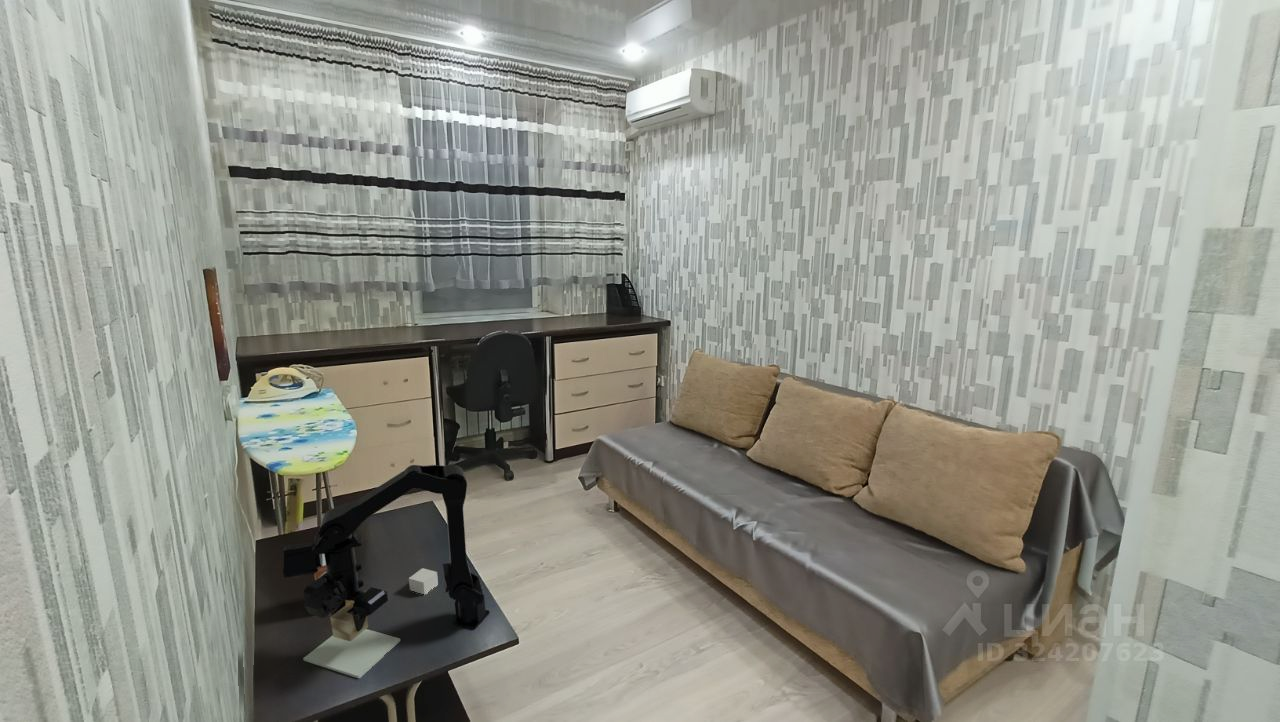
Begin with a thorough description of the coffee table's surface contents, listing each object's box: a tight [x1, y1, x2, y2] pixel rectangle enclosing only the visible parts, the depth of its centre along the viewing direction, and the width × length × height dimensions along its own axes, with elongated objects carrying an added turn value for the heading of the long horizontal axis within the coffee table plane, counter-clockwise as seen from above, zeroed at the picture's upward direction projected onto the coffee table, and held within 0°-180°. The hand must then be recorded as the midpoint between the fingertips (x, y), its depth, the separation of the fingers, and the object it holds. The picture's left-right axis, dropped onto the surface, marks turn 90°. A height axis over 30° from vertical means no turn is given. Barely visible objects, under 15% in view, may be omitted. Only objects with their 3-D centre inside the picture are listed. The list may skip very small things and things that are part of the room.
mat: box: [303, 628, 401, 679], centre depth 126 cm, size 16×12×1 cm
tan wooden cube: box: [329, 603, 369, 642], centre depth 125 cm, size 5×5×5 cm
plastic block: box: [408, 567, 439, 596], centre depth 149 cm, size 5×5×4 cm
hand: (350, 627), depth 125 cm, fingers closed on tan wooden cube, 5 cm apart
